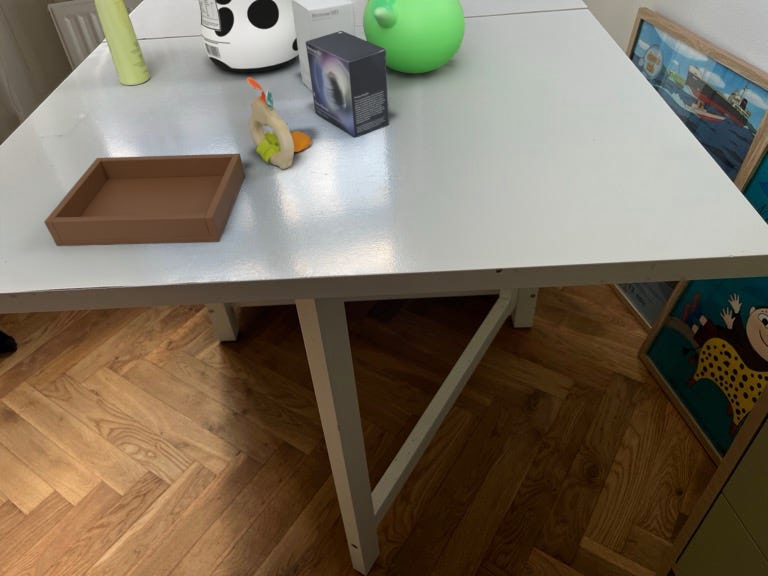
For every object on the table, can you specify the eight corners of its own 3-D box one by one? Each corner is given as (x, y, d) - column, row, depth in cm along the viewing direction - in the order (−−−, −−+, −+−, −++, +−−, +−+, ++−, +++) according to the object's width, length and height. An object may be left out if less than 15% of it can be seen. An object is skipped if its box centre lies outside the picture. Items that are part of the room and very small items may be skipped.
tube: (157, 80, 94) (116, -52, 81) (129, 89, 91) (81, -46, 79) (142, 72, 97) (100, -57, 84) (114, 81, 95) (66, -51, 82)
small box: (311, 114, 81) (301, 39, 74) (348, 102, 84) (342, 29, 77) (353, 139, 75) (346, 60, 68) (391, 124, 78) (388, 47, 71)
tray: (56, 245, 59) (43, 221, 57) (106, 180, 69) (96, 157, 67) (219, 241, 58) (212, 217, 56) (245, 175, 69) (240, 153, 66)
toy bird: (480, 78, 89) (487, -24, 79) (381, 96, 85) (376, -9, 75) (434, 45, 102) (436, -47, 92) (347, 59, 98) (339, -35, 88)
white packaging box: (317, 98, 86) (306, 9, 77) (301, 82, 91) (289, -2, 82) (360, 88, 88) (354, 1, 80) (343, 73, 93) (335, -10, 85)
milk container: (315, 45, 104) (302, -67, 92) (295, 80, 92) (277, -44, 80) (226, 46, 106) (202, -64, 94) (195, 80, 93) (162, -41, 81)
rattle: (333, 160, 71) (322, 69, 63) (274, 179, 68) (255, 87, 60) (307, 138, 75) (294, 52, 68) (251, 156, 72) (231, 67, 65)
